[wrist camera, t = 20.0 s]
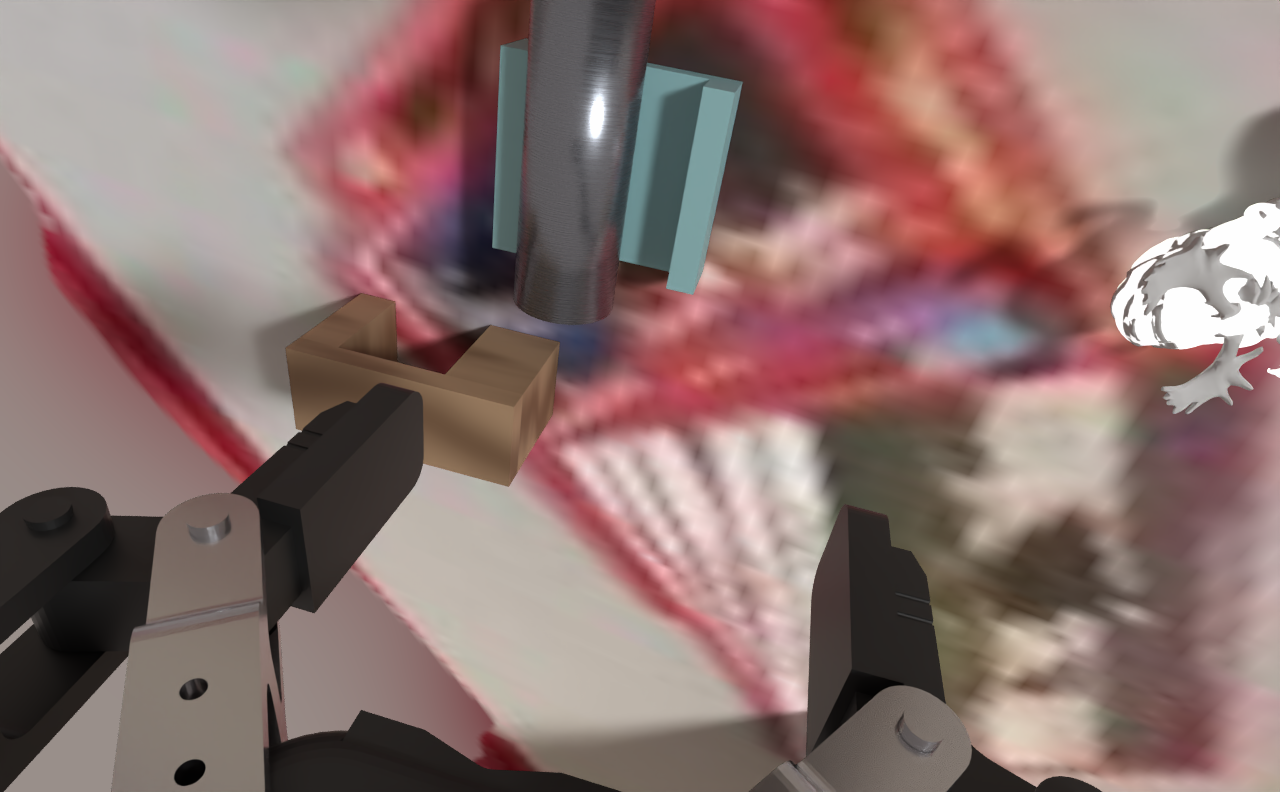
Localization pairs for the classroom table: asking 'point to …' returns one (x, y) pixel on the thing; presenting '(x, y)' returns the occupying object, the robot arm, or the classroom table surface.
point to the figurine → (1207, 299)
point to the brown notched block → (433, 386)
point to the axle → (578, 153)
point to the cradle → (640, 165)
